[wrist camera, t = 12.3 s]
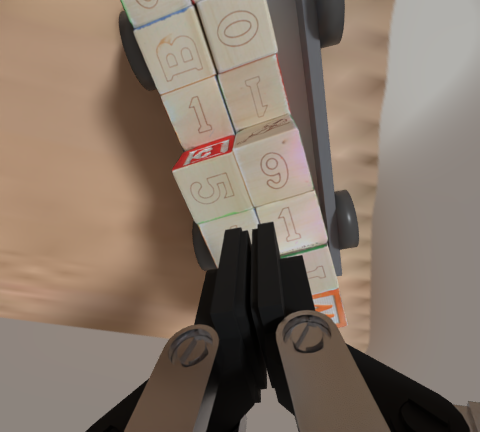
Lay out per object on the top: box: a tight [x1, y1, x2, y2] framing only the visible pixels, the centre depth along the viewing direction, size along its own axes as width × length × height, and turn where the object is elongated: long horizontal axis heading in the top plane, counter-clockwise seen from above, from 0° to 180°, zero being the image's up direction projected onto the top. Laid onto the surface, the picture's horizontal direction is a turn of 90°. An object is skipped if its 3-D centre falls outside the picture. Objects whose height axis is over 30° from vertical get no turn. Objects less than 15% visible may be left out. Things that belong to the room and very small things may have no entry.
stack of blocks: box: [121, 0, 348, 328], centre depth 20 cm, size 21×6×12 cm, turn 18°
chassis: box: [119, 0, 359, 276], centre depth 24 cm, size 26×13×5 cm, turn 13°
